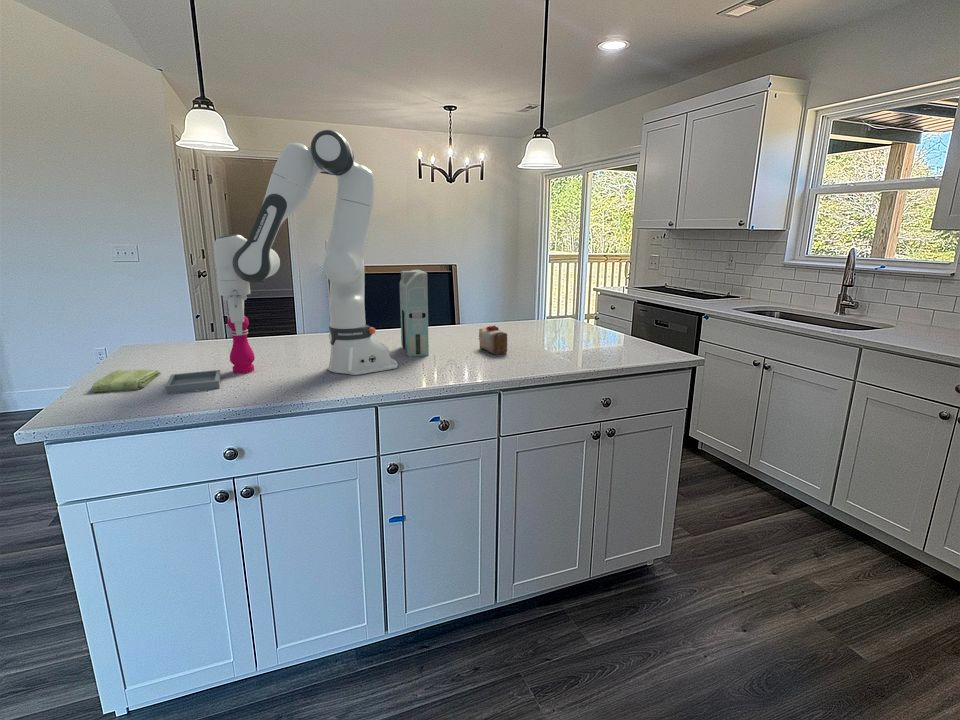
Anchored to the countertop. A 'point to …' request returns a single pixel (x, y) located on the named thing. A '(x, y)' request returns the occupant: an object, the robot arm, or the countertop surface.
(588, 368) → the countertop surface
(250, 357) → the pepper mill
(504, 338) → the food item
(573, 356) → the countertop surface
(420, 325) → the device
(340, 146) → the robot arm
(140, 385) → the washcloth
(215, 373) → the slate tray
